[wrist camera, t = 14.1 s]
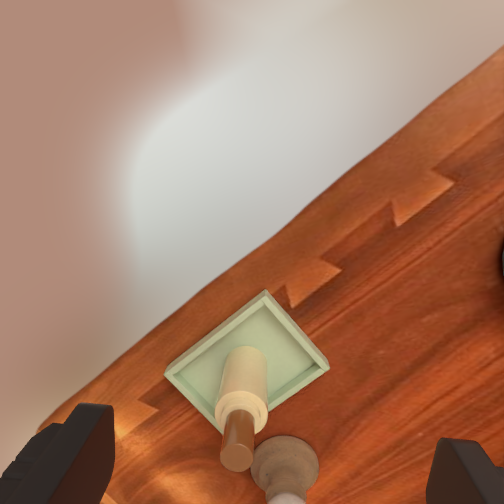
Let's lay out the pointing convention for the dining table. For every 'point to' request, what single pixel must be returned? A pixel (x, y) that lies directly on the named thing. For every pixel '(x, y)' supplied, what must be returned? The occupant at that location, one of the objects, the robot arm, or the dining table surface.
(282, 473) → the candle holder
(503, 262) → the bowl
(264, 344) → the tray
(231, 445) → the stoneware bottle
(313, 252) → the dining table surface
